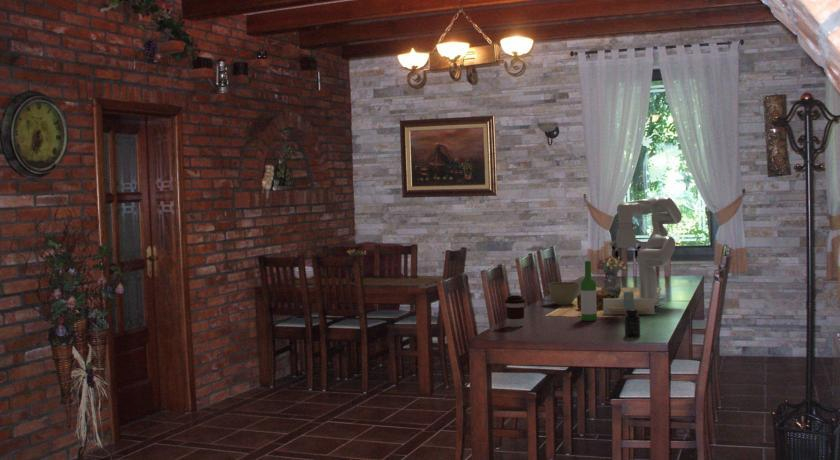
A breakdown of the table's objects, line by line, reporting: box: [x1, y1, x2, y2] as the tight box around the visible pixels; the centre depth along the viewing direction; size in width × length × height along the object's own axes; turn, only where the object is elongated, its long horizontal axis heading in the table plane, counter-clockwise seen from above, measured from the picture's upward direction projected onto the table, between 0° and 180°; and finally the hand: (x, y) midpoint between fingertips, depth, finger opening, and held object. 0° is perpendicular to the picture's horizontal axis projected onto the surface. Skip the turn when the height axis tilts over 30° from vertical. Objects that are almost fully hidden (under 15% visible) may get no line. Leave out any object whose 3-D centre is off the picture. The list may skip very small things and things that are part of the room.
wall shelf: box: [602, 298, 656, 315], centre depth 441 cm, size 11×26×8 cm, turn 76°
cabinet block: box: [623, 290, 635, 308], centre depth 437 cm, size 7×5×8 cm
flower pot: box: [547, 281, 580, 306], centre depth 486 cm, size 18×18×12 cm
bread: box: [576, 289, 615, 311], centre depth 465 cm, size 19×11×10 cm, turn 115°
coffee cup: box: [504, 294, 526, 328], centre depth 414 cm, size 10×10×15 cm
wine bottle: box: [580, 260, 598, 322], centre depth 424 cm, size 8×8×30 cm
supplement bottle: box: [623, 309, 641, 338], centre depth 377 cm, size 7×7×12 cm
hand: (626, 258), depth 453 cm, fingers open, 9 cm apart
